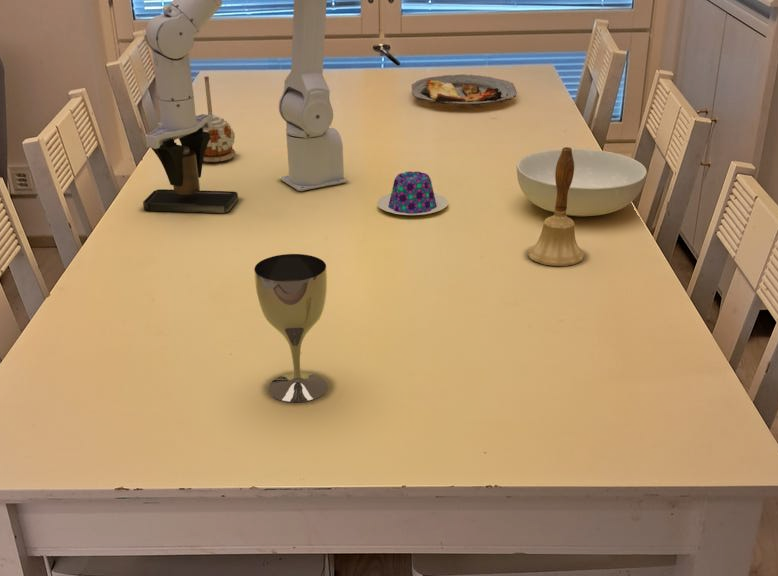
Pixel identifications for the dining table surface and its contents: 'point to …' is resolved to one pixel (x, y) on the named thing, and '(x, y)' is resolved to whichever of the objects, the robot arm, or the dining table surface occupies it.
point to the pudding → (412, 196)
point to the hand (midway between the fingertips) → (185, 180)
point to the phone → (191, 201)
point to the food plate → (463, 90)
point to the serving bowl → (583, 181)
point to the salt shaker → (188, 174)
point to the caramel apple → (218, 135)
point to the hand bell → (559, 223)
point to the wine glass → (293, 315)
